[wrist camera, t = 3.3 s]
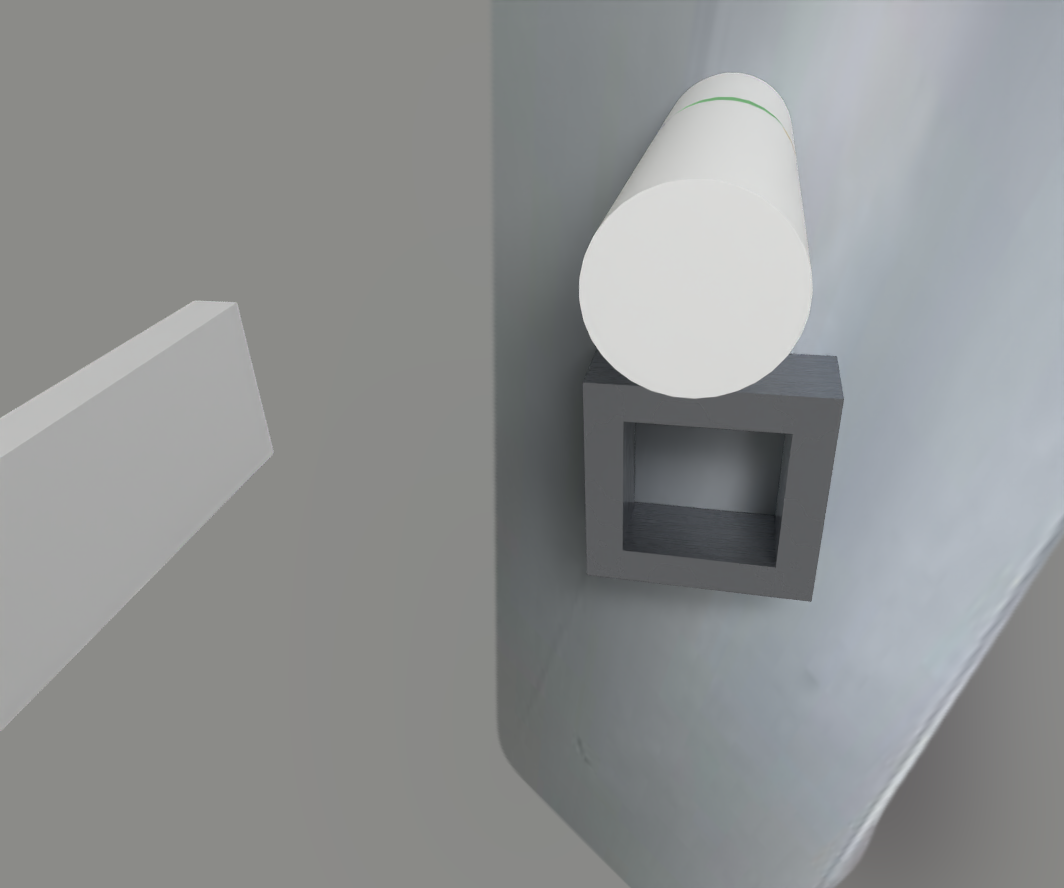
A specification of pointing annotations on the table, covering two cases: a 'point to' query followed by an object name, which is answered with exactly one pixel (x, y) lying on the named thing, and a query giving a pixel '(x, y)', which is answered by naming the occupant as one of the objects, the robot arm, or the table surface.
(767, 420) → the gray square frame
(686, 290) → the tube
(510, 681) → the table surface
